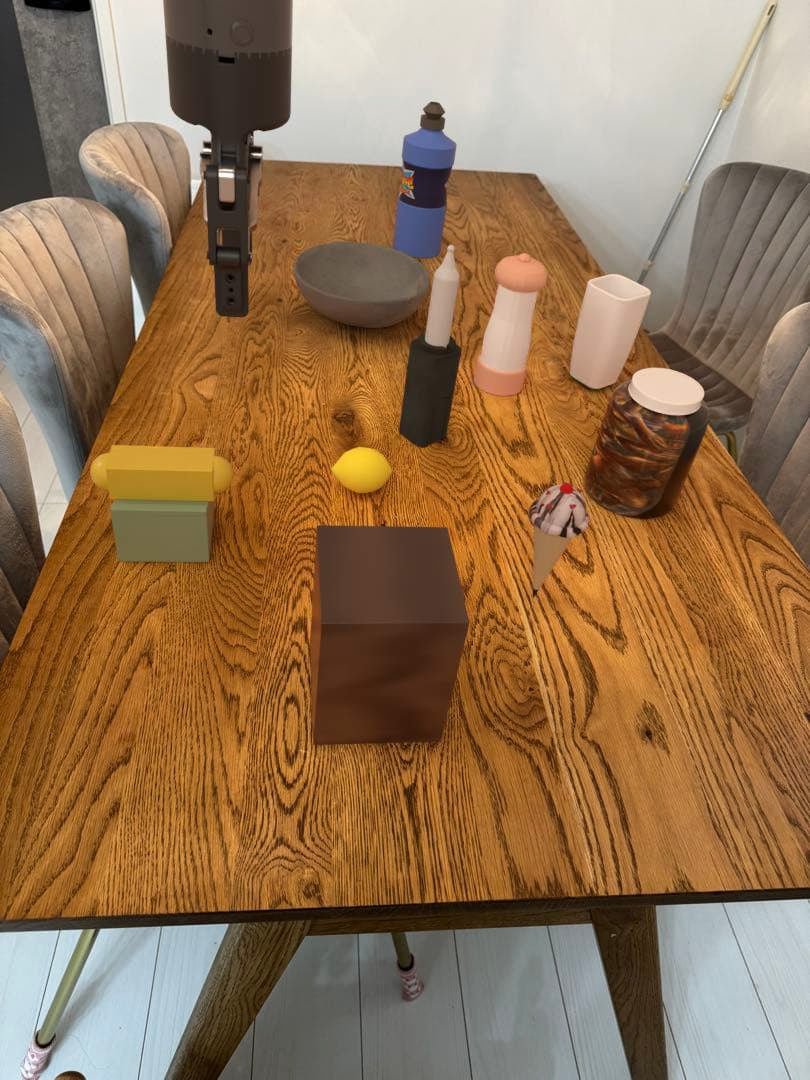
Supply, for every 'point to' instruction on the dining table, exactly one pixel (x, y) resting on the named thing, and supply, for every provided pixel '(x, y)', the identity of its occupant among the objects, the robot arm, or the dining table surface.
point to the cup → (607, 329)
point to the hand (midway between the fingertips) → (235, 288)
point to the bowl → (361, 283)
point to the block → (162, 530)
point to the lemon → (362, 470)
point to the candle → (433, 364)
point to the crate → (384, 634)
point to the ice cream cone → (555, 527)
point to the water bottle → (424, 186)
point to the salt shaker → (510, 326)
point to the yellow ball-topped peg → (161, 473)
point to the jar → (647, 443)
